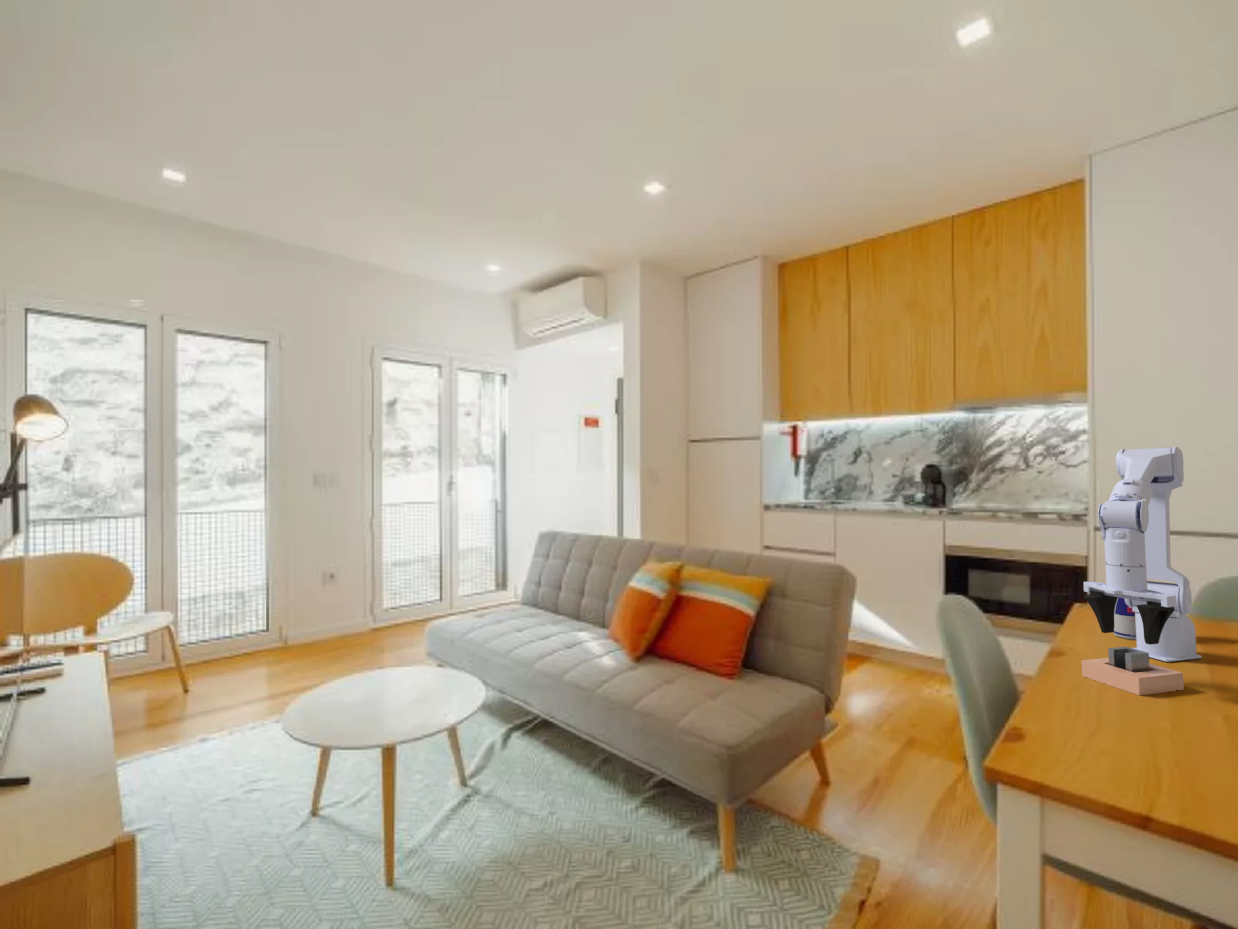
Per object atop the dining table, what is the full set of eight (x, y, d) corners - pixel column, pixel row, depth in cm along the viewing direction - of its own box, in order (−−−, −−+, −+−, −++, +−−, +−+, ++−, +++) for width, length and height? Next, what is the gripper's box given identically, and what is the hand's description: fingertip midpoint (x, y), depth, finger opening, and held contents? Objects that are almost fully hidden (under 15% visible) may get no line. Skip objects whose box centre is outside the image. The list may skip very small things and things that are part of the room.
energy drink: (1138, 641, 129) (1135, 589, 129) (1109, 636, 134) (1106, 585, 134) (1148, 638, 131) (1146, 586, 132) (1120, 632, 136) (1117, 583, 136)
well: (1123, 671, 110) (1123, 655, 110) (1183, 689, 101) (1183, 672, 101) (1082, 676, 108) (1081, 660, 108) (1139, 695, 99) (1138, 678, 99)
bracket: (1126, 678, 107) (1125, 646, 107) (1150, 685, 103) (1148, 652, 103) (1109, 680, 106) (1108, 648, 106) (1132, 687, 102) (1130, 654, 102)
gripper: (1069, 560, 111) (1072, 629, 111) (1152, 572, 97) (1156, 651, 97) (1098, 558, 113) (1101, 626, 112) (1183, 569, 99) (1188, 647, 98)
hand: (1129, 637), depth 105 cm, fingers open, 7 cm apart
